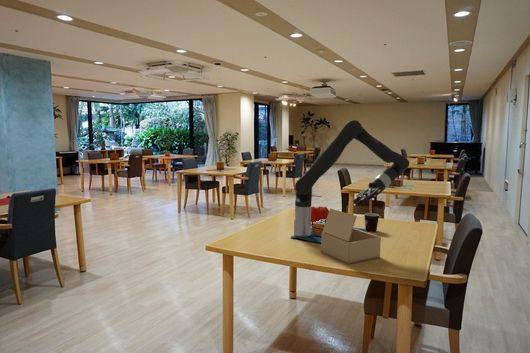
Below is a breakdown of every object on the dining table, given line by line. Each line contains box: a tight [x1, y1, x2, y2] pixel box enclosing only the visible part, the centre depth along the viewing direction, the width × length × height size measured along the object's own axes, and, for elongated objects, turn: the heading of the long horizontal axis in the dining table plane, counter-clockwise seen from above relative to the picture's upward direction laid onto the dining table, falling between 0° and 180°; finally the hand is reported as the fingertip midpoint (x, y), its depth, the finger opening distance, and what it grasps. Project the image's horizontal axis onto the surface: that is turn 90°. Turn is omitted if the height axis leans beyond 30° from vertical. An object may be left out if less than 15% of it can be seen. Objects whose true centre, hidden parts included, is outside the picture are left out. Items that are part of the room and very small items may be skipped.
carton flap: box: [322, 208, 358, 241], centre depth 186 cm, size 1×19×12 cm, turn 30°
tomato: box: [311, 206, 330, 224], centre depth 252 cm, size 13×14×12 cm
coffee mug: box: [363, 212, 380, 233], centre depth 239 cm, size 12×9×10 cm
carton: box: [320, 227, 382, 265], centre depth 191 cm, size 20×21×10 cm
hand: (358, 202), depth 196 cm, fingers open, 8 cm apart
